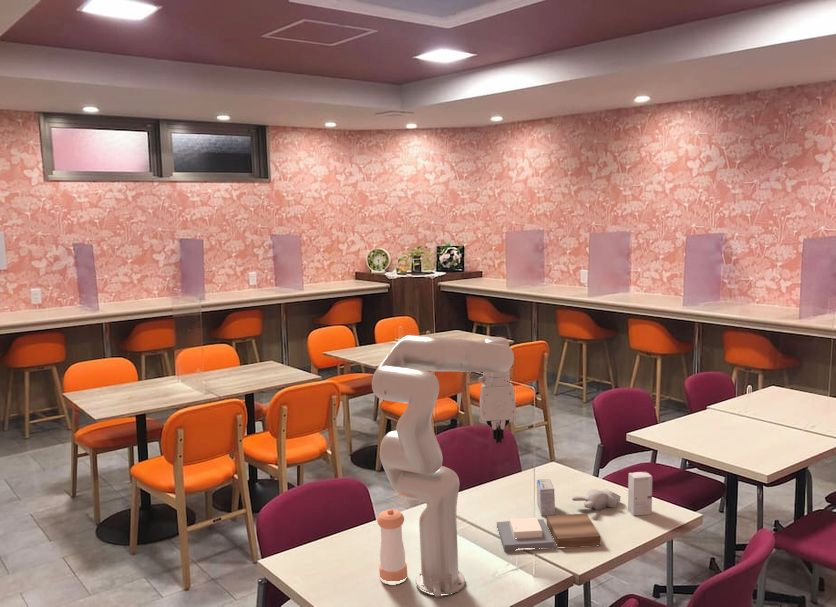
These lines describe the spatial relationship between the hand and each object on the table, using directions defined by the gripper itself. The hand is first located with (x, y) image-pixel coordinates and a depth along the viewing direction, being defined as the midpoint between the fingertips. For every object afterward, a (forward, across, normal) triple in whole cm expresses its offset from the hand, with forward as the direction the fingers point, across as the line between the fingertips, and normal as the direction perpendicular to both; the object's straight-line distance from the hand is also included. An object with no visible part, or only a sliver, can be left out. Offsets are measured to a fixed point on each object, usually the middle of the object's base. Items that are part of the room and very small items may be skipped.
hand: (498, 441), depth 208 cm
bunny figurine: (+27, +32, +10) cm, 44 cm away
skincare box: (+27, +44, +5) cm, 52 cm away
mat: (+27, +6, -7) cm, 29 cm away
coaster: (+25, +6, -7) cm, 27 cm away
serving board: (+27, +20, -7) cm, 34 cm away
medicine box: (+27, +16, +10) cm, 33 cm away
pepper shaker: (+27, -32, -24) cm, 48 cm away
